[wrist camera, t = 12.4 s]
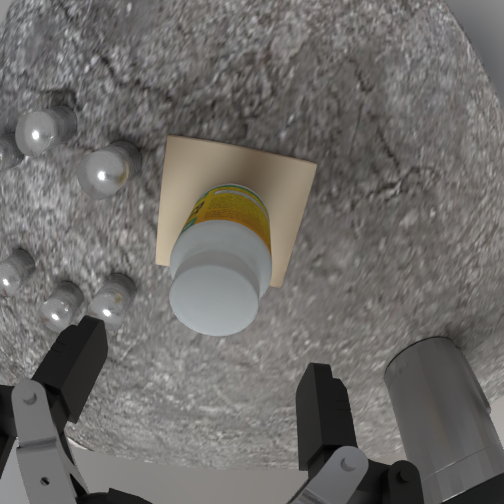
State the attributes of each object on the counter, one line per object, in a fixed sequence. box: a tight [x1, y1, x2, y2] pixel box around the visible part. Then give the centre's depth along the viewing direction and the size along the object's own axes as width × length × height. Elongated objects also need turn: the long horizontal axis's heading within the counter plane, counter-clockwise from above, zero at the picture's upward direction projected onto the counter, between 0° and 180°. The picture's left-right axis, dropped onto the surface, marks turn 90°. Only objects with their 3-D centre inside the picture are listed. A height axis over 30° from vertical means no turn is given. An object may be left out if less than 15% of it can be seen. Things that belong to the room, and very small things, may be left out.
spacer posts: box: [0, 105, 142, 333], centre depth 21 cm, size 14×19×4 cm
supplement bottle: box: [169, 183, 272, 336], centre depth 18 cm, size 5×5×10 cm
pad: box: [156, 135, 317, 288], centre depth 22 cm, size 10×10×1 cm
